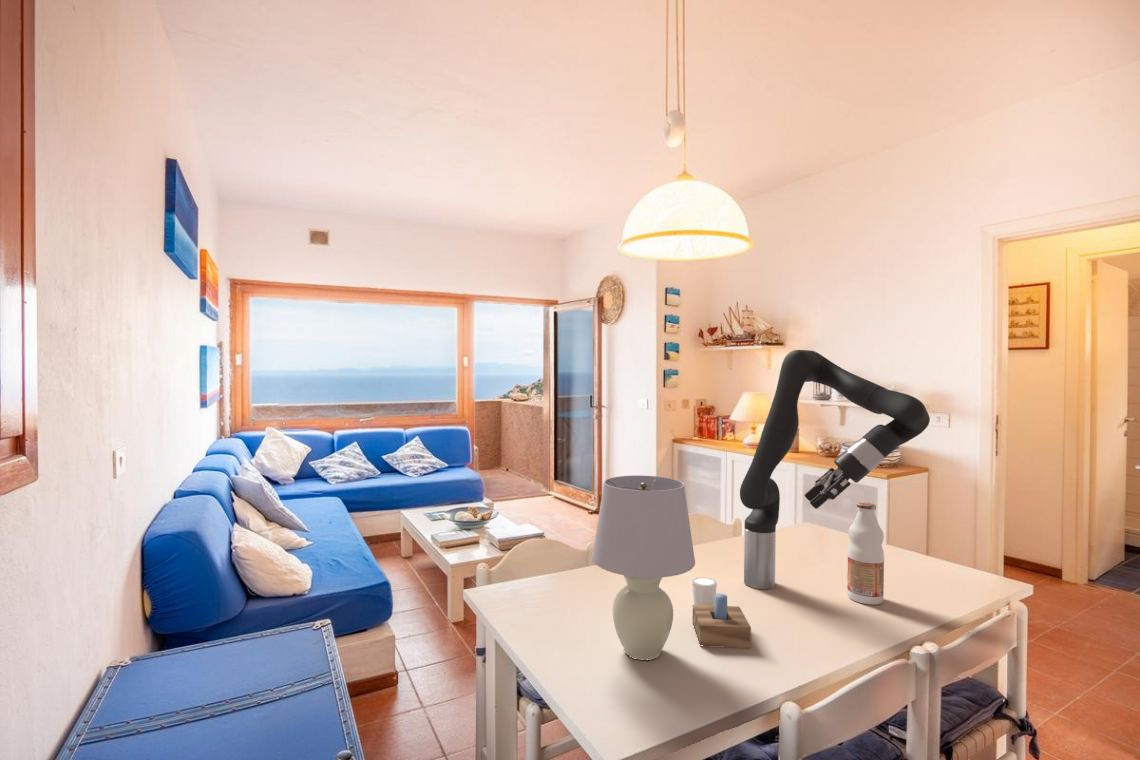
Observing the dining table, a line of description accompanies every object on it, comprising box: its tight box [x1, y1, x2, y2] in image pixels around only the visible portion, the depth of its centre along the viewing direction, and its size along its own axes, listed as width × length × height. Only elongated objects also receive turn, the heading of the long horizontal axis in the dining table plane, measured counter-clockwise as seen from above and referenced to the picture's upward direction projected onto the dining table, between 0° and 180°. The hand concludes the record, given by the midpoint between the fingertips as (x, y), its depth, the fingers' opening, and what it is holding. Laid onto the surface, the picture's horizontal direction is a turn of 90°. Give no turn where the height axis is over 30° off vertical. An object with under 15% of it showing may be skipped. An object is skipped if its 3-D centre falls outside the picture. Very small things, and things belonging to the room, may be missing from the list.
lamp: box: [591, 474, 696, 660], centre depth 131 cm, size 24×24×40 cm
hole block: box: [692, 604, 752, 649], centre depth 140 cm, size 12×12×5 cm
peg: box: [715, 593, 728, 620], centre depth 140 cm, size 3×3×10 cm
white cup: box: [691, 576, 718, 606], centre depth 158 cm, size 7×7×7 cm
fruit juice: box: [846, 501, 885, 606], centre depth 163 cm, size 9×9×28 cm
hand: (809, 502), depth 144 cm, fingers open, 8 cm apart
